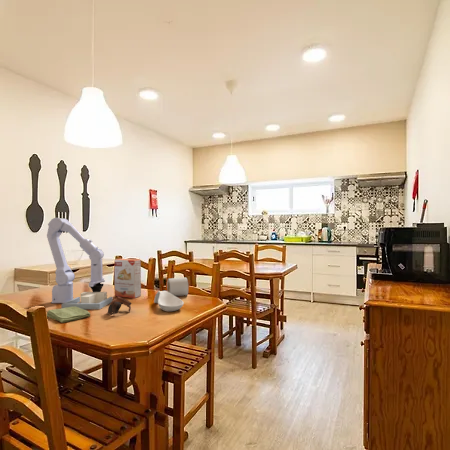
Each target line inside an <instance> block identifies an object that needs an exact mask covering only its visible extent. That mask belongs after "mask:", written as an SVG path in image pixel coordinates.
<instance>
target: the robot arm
mask: <svg viewBox="0 0 450 450" xmlns="http://www.w3.org/2000/svg"><path fill="white" fill-rule="evenodd" d="M47 225H48V228H47V234H46V238H47V242H48V244H49V248H50V251H51V254H52V258H53V261H54V264H55V268H56V269H55V272H54V273H55V279H54V280H55V282H56V284H55V285H53V286H52V289H51V302H50V303H51V304H63V303H65V302H67V301H70V300H72V299H74V282H73V281H74V280H75V277H76V276H75V275H76V274H75V273H74V272H73V271H72V268H71V267H70V266H69V264H68V263H67V259H66V255H65V253H64V249H63V246H62V243H61V239H60V236H61V235H62V233H63V232H65V233H68V234H70V235H71V237H72V238H74V239H75V240H76V241H77V242H79V243H78V244H79V247H80V248H81V249H82V251H84V252H85V253H86V254H87V255H88V258H89V260H90V282H88V288H90V289H91V292H102V289H103V287H104V283H105V282H106V280H105V278H103V277H104V276H103V258H104V255H105V254H104V251H103V250H102V249H100V248H99V247H98V246H96V245H95V244H94V243H93V240H92V239H89V238H85V237H84V236H83V235H82V234H81V233H80V232H79V230H78V229H77V228H76V227H75V226H74V224H73V223H72V222H70V221H69V219H67V218H60V217H54V218H52V219H51V220H50V221H49V222H48V223H47Z"/></svg>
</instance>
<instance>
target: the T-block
mask: <svg viewBox="0 0 450 450" xmlns="http://www.w3.org/2000/svg"><path fill="white" fill-rule="evenodd" d="M107 298H108V292H107V291H101V292H93V291H83V292H81V293H80V303H100V302H102V301H104V300H105V299H107Z"/></svg>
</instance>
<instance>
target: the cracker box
mask: <svg viewBox="0 0 450 450" xmlns="http://www.w3.org/2000/svg"><path fill="white" fill-rule="evenodd" d="M141 264H142V263H141V259H140V258H139V259H137V258H116V259H114V297H121V298H131V299H136V298H139V297H141V296H142V277H141V275H142V274H141V273H142V271H141V268H142V267H141V266H142V265H141Z"/></svg>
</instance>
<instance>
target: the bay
mask: <svg viewBox="0 0 450 450" xmlns="http://www.w3.org/2000/svg"><path fill="white" fill-rule="evenodd" d="M113 300H114V299H113V296H109V297H107V299H105V300H104V301H102V302H100V303H81V296H77V297H73V299H72V300H70V301H67V302H65V303H61V309H62V308H67V307H74V306H76V307H79V308H80V309H84V310H101V309H103V308H104V307H106V306H108V305H110V303H111V302H112V301H113Z"/></svg>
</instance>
